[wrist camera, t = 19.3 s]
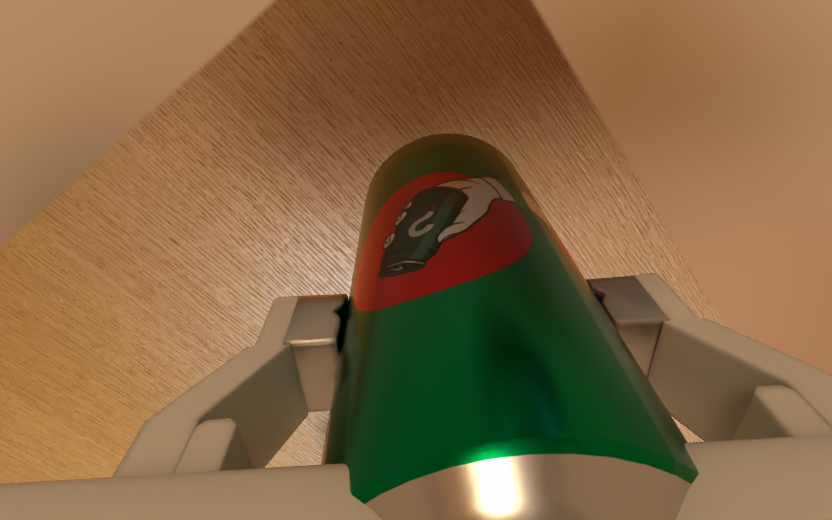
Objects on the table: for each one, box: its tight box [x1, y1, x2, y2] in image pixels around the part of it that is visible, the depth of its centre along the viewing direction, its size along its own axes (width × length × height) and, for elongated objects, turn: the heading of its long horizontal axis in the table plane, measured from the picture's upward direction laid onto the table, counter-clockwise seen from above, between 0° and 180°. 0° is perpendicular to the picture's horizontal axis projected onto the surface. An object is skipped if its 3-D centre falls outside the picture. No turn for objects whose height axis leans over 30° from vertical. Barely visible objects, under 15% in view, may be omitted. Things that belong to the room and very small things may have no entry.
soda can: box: [321, 134, 699, 520], centre depth 10 cm, size 5×5×12 cm
